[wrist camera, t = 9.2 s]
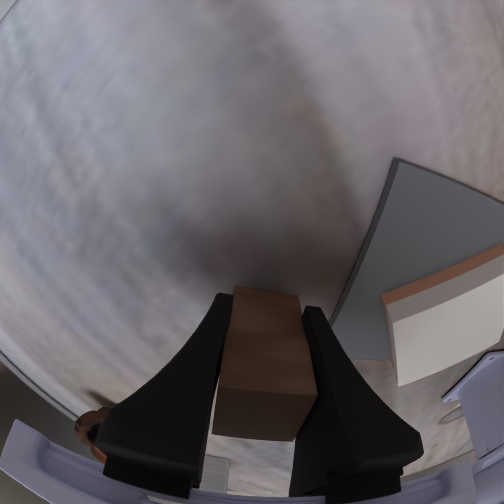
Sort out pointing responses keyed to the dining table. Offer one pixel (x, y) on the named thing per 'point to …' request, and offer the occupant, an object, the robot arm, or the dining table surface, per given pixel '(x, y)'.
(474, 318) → the whetstone
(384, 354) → the mat
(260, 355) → the walnut block
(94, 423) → the pottery mug
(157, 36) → the dining table surface
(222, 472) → the skincare box
